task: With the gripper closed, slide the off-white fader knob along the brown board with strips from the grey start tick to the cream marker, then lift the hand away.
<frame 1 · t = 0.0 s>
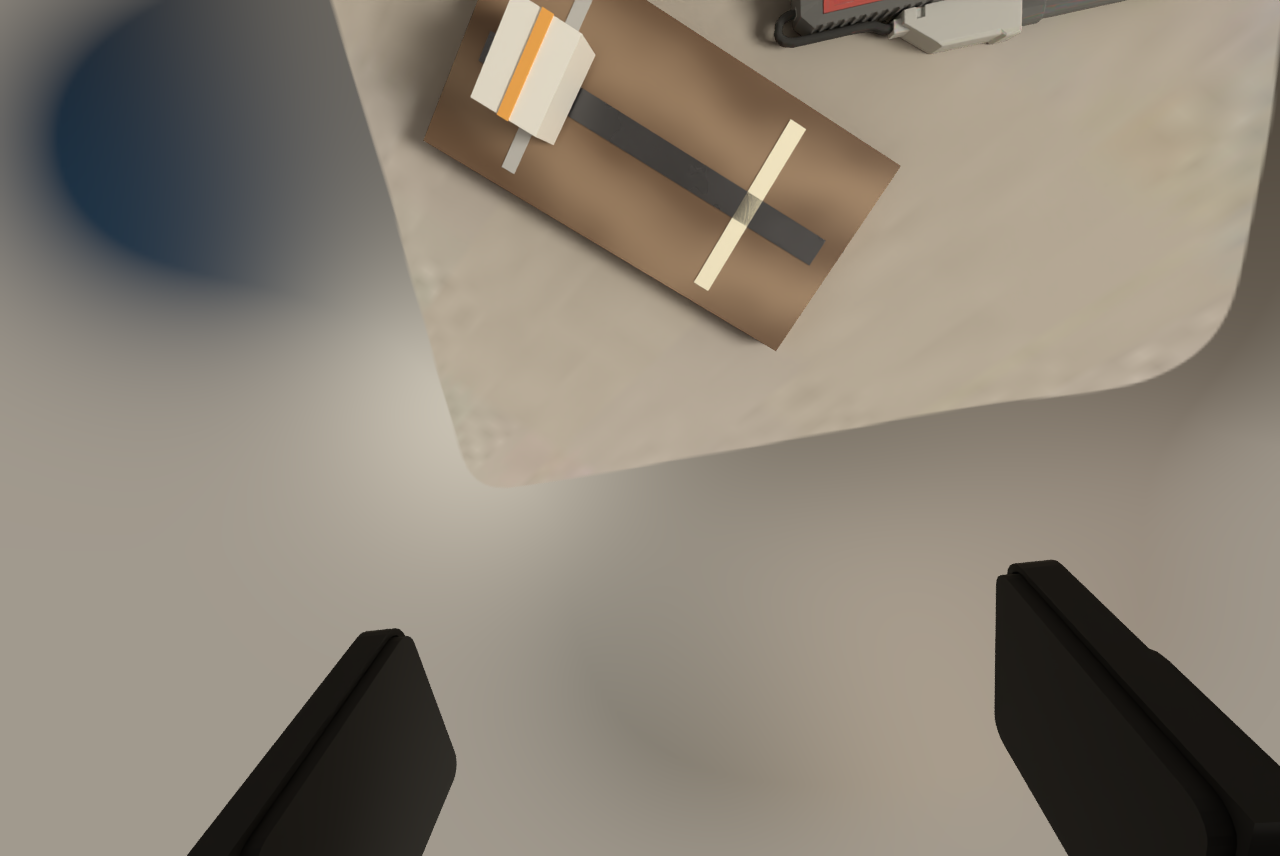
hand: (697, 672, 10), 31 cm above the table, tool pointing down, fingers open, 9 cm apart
brown board with strips: (658, 155, 36), on the table
fader: (535, 74, 31), point 5 cm above the table, slide at -7.0 cm
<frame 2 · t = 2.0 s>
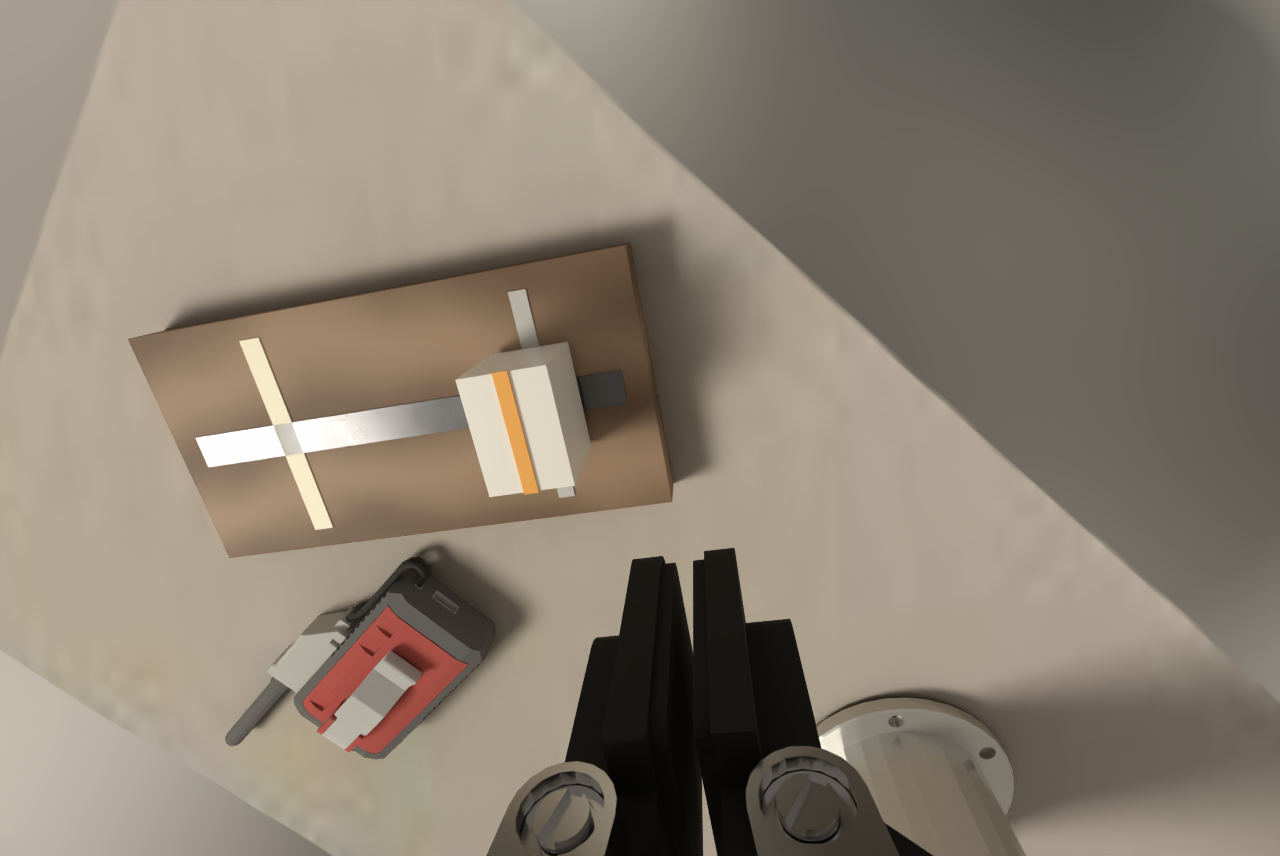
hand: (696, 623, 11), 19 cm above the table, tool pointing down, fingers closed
brown board with strips: (420, 408, 31), on the table
fader: (529, 416, 25), point 5 cm above the table, slide at -7.0 cm
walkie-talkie: (367, 665, 38), on the table
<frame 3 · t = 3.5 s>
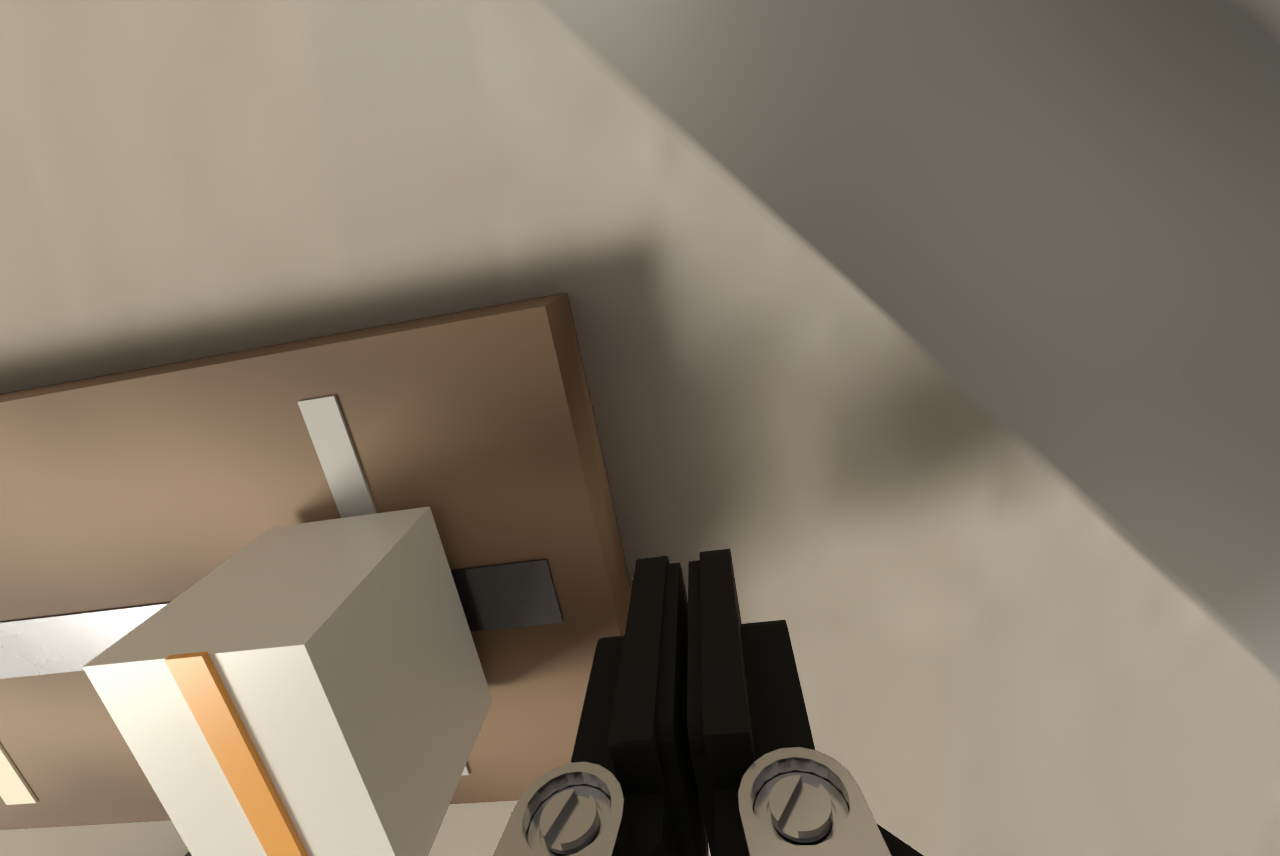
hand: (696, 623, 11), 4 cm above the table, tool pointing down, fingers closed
brown board with strips: (192, 588, 16), on the table
fader: (331, 689, 11), point 5 cm above the table, slide at -7.0 cm
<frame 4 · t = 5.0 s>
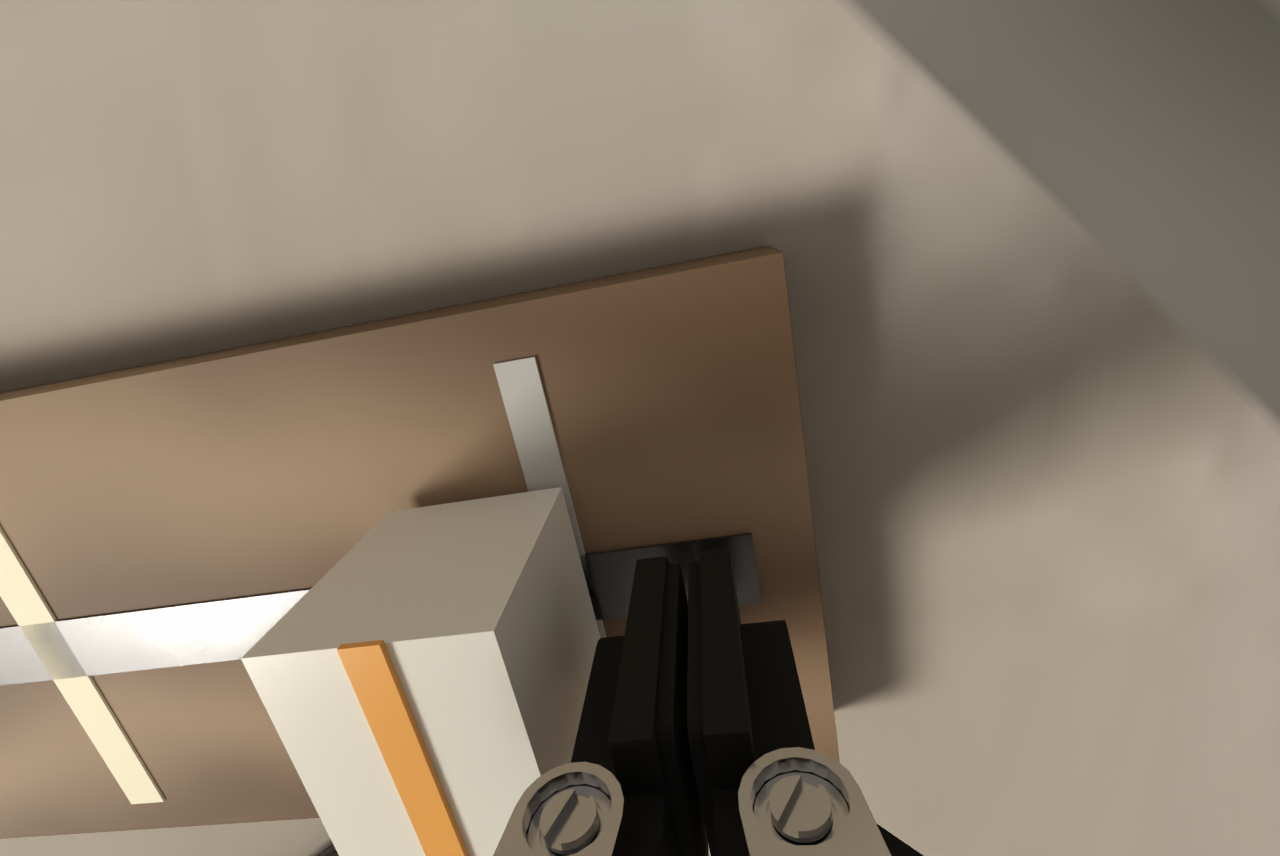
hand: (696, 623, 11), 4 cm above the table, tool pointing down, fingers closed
brown board with strips: (328, 573, 16), on the table
fader: (471, 681, 11), point 4 cm above the table, slide at -5.6 cm, touching gripper
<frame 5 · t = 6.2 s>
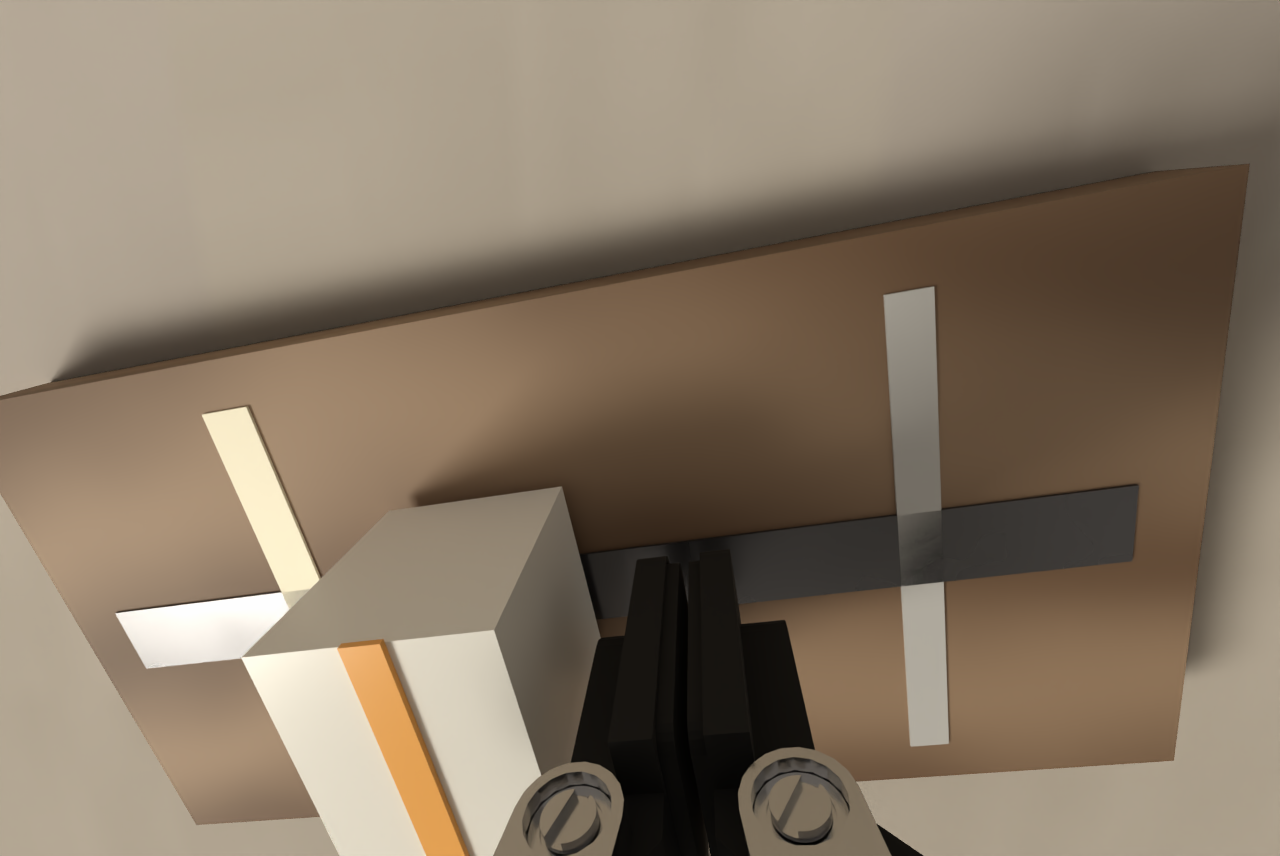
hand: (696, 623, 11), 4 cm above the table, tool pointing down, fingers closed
brown board with strips: (588, 539, 15), on the table
fader: (471, 681, 11), point 4 cm above the table, slide at 1.4 cm, touching gripper
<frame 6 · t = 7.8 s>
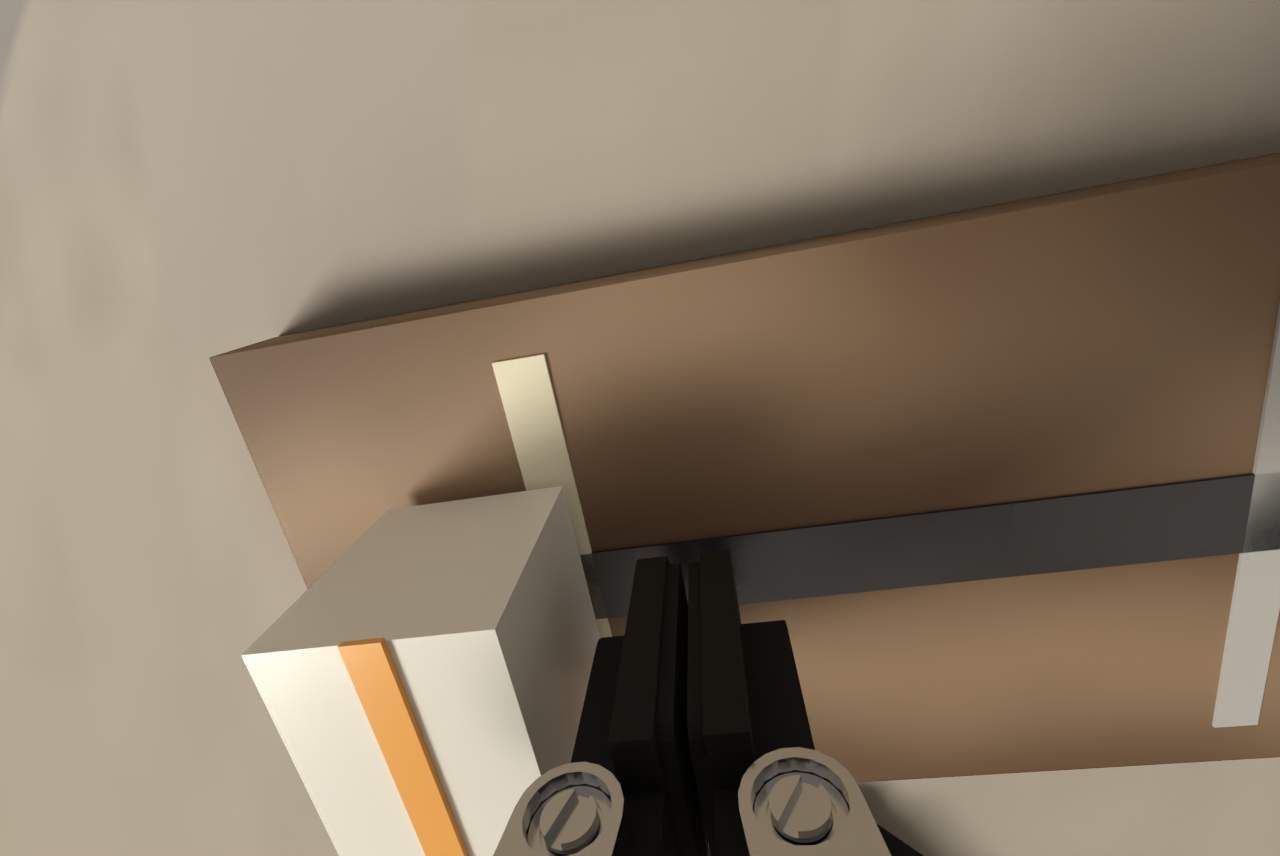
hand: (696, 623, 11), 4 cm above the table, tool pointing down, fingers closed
brown board with strips: (846, 507, 14), on the table
fader: (470, 680, 11), point 4 cm above the table, slide at 7.5 cm, touching gripper
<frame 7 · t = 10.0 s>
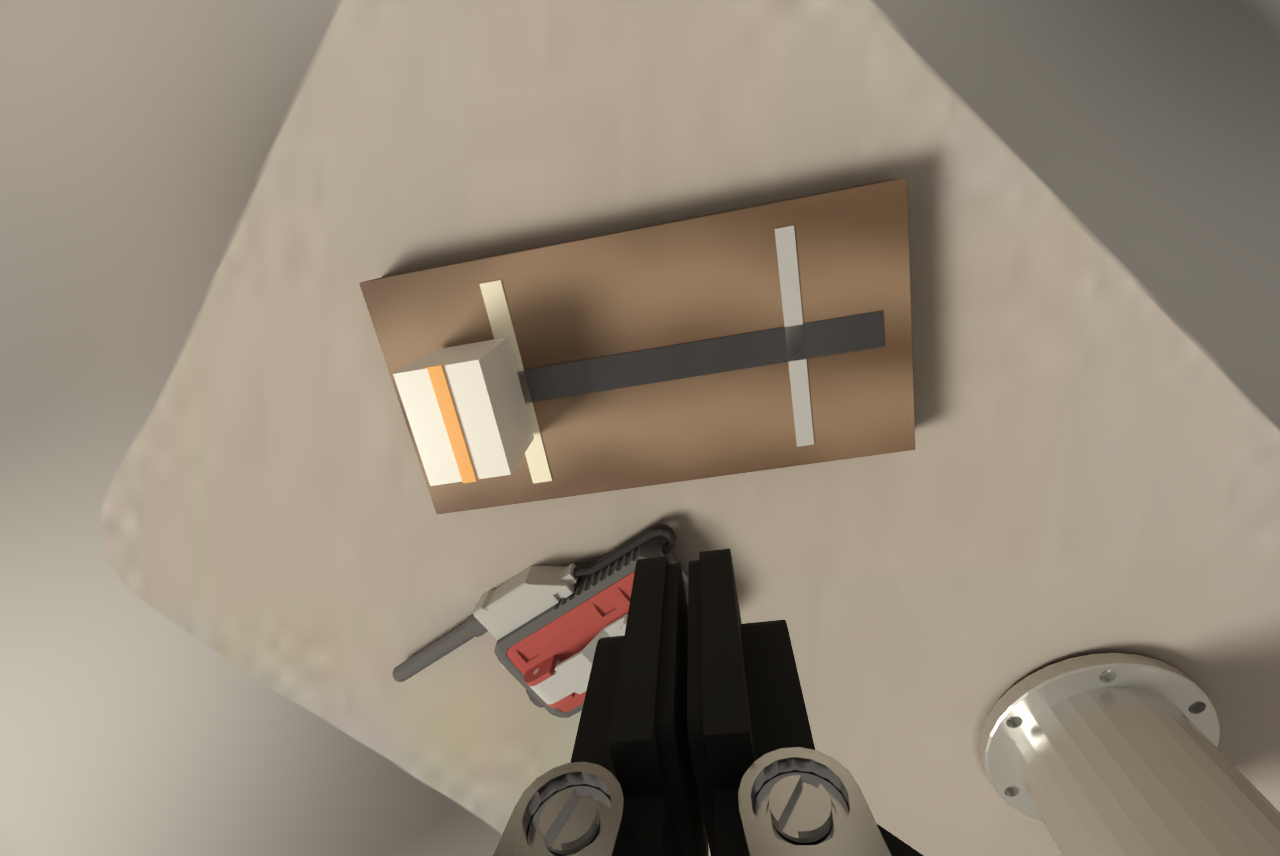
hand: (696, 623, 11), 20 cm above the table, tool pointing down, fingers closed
brown board with strips: (644, 357, 30), on the table
fader: (470, 409, 27), point 5 cm above the table, slide at 7.5 cm
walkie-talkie: (557, 621, 37), on the table
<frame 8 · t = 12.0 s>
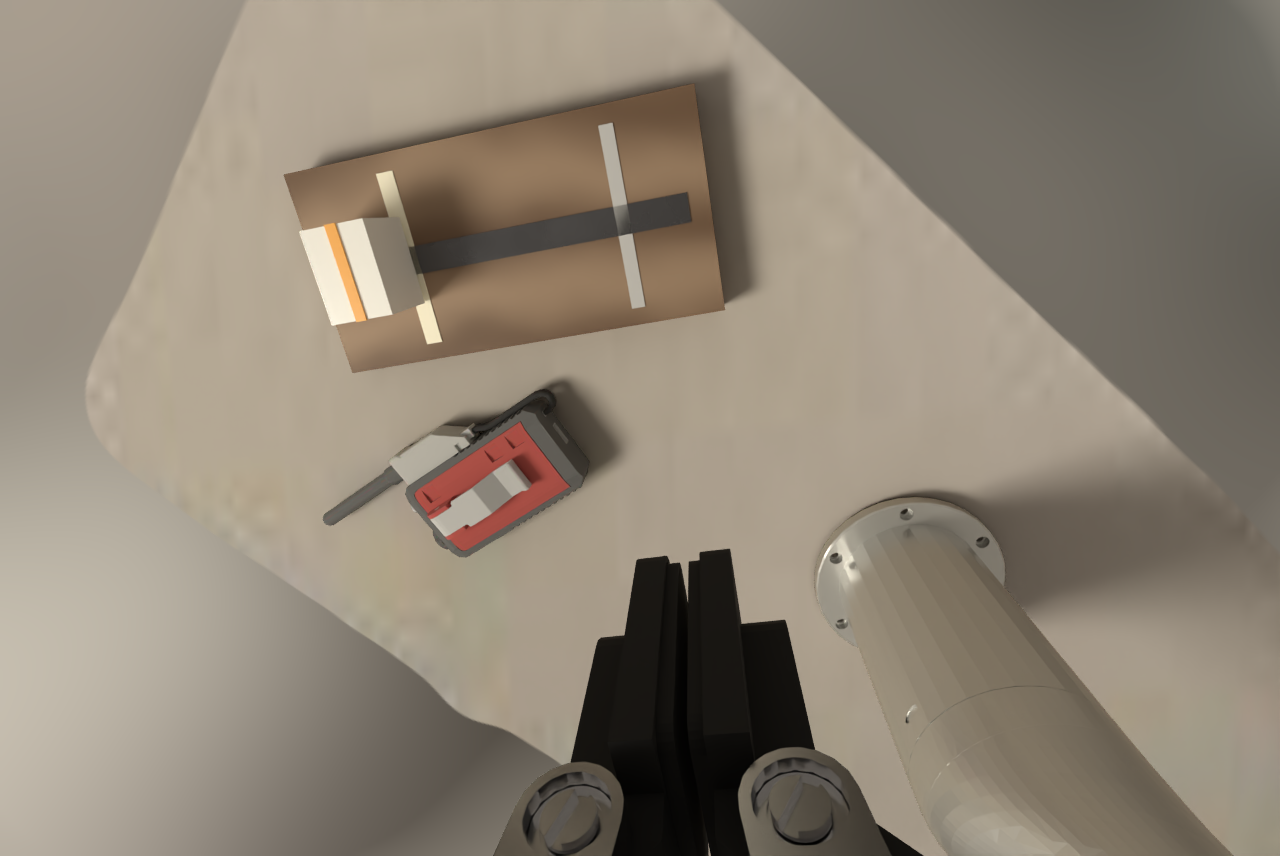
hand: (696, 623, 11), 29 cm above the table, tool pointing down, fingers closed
brown board with strips: (515, 241, 37), on the table
fader: (366, 269, 34), point 5 cm above the table, slide at 7.5 cm
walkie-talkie: (464, 480, 44), on the table
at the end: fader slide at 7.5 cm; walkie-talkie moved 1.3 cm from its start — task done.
